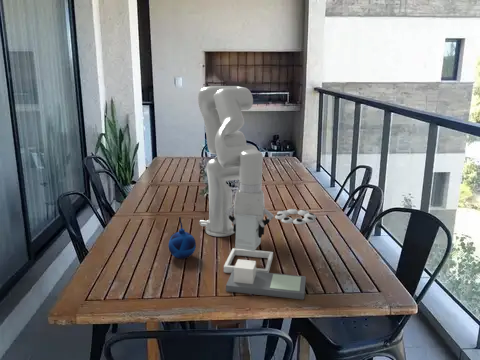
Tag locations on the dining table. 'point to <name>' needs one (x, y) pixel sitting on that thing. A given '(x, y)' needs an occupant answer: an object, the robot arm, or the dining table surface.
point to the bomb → (182, 244)
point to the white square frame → (252, 254)
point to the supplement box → (247, 232)
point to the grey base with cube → (264, 282)
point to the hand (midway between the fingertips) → (248, 234)
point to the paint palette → (301, 212)
